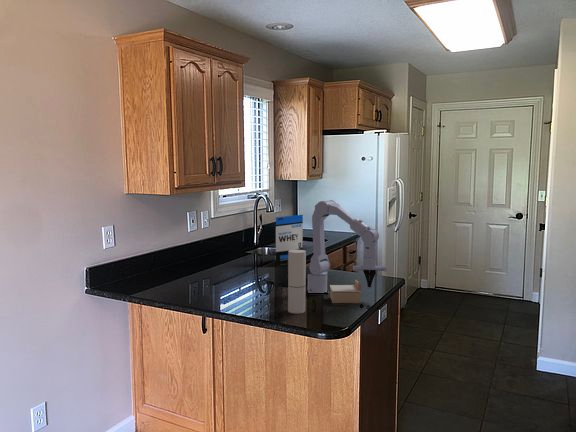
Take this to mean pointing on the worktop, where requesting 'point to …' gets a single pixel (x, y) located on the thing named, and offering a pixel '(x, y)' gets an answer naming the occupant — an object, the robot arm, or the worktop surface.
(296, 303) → the cylindrical container
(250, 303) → the worktop surface
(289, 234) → the protein powder
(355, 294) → the box
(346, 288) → the mailer lid
